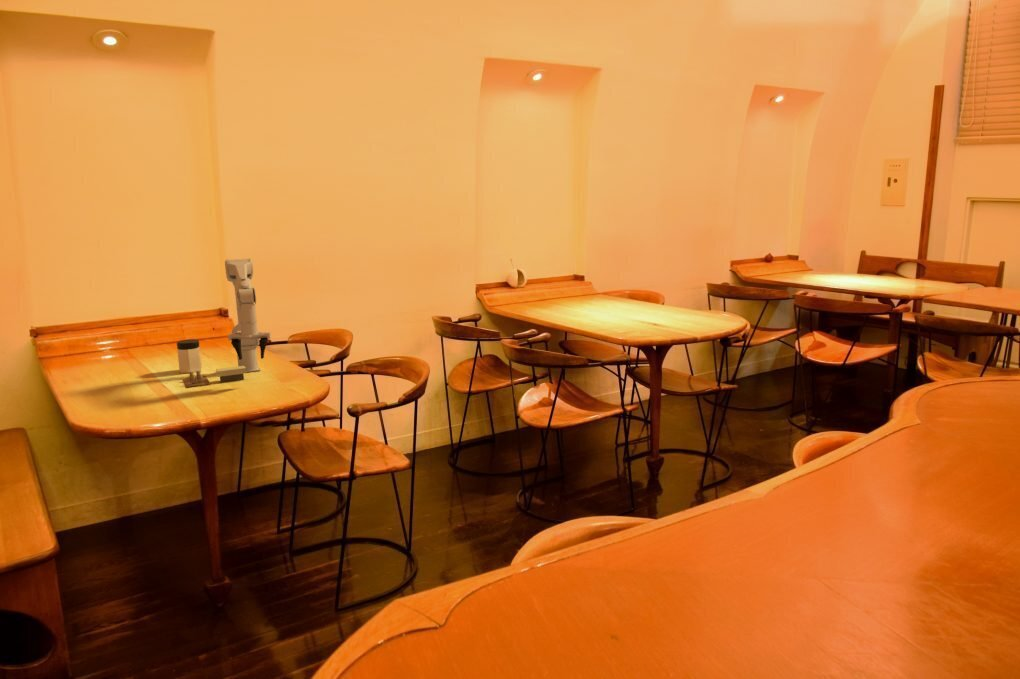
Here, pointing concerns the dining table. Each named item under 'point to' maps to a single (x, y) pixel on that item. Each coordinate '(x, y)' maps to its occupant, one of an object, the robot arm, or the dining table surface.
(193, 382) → the peg base
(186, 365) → the jar
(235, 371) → the shelf board
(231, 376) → the block
